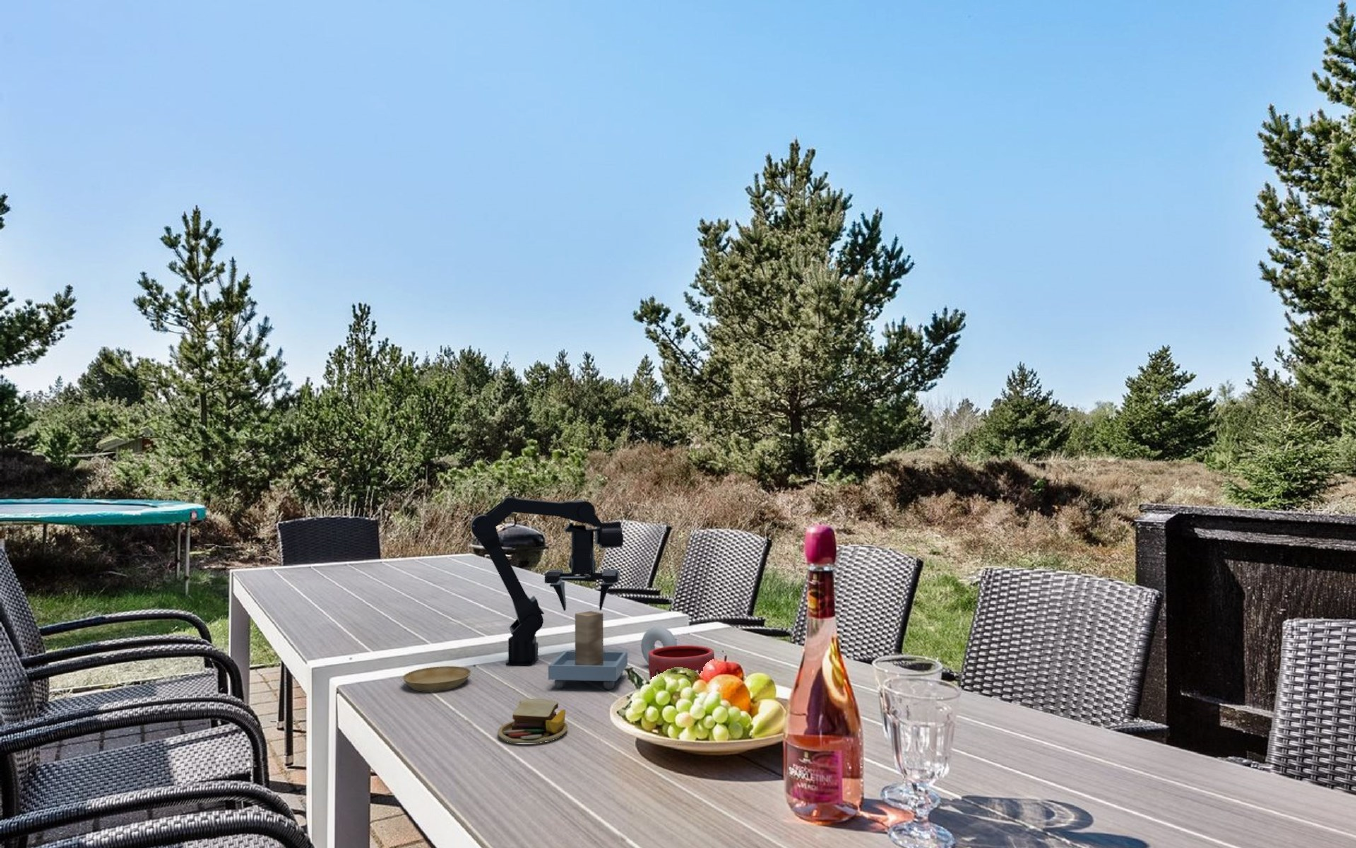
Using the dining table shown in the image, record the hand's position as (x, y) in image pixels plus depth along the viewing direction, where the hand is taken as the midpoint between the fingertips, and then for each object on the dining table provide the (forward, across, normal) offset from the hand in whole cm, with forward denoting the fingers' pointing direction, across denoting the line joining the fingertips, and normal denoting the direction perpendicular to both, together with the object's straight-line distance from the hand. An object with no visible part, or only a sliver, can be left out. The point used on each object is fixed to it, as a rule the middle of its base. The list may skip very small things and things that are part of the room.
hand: (582, 610), depth 198 cm
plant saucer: (+12, +29, +25) cm, 40 cm away
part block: (+9, -5, +24) cm, 26 cm away
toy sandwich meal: (+12, +1, +57) cm, 58 cm away
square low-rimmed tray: (+12, -5, +24) cm, 27 cm away
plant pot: (+12, -26, +44) cm, 53 cm away
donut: (+12, -20, +11) cm, 26 cm away
